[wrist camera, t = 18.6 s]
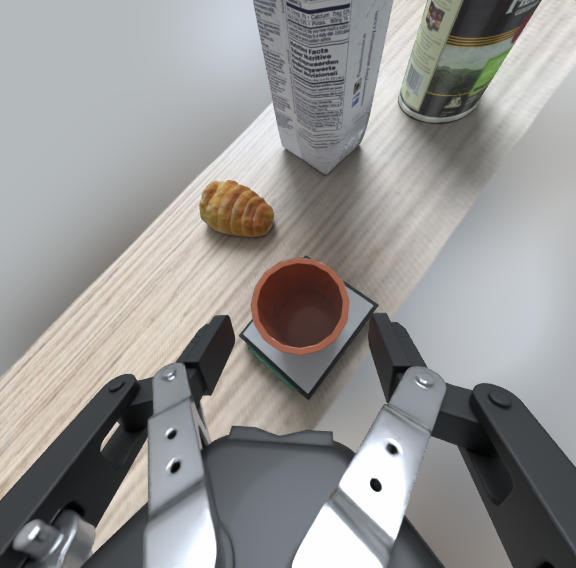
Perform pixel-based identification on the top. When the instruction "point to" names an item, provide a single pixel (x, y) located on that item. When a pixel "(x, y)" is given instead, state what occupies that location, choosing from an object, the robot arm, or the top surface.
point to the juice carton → (322, 72)
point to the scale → (315, 366)
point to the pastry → (235, 210)
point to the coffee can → (459, 55)
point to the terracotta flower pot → (300, 306)
